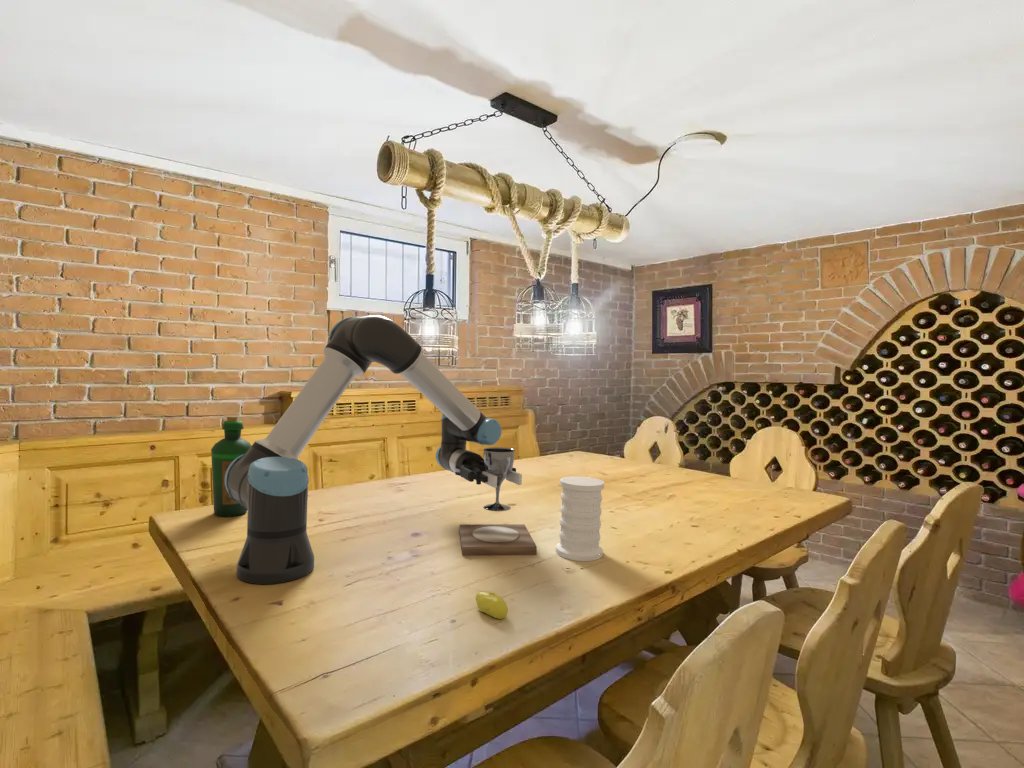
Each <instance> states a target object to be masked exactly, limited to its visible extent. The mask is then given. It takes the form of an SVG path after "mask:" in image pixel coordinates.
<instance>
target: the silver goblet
mask: <svg viewBox="0 0 1024 768" xmlns="http://www.w3.org/2000/svg"><path fill="white" fill-rule="evenodd" d="M483 460H484V466H485V470H486V472H488V473H490V474H493V475H495V476H497V487H495V488H494V489H495V502H494V503H488V504H485V505H483V506H482V507H483V509H484V510H486V511H489V512H507V511H509V510H511V508H512V507H511V506H510V505H508V504H503V503H500V491H501V486H502V484H503V482H504V481H505V480H506V477H507V476H508V475H509V474H510V472H511V470H512V467H513V468H514V463H515V449H514V448H508V447H503V446H499V447H498V446H493V447H492V446H491V447H490V446H489V447H485V448H483Z"/></svg>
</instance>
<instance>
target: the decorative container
mask: <svg viewBox="0 0 1024 768" xmlns="http://www.w3.org/2000/svg"><path fill="white" fill-rule="evenodd" d="M559 486H560V487H561V488H562V491H561V494H560V499H561V505H560V508H559V509H560V513H561V517H560V519H559V525H560V530H559V532H558V533H559V535H558V536H559V539H560V542H558V543H557V544H555V553H556V554H557V555H558V556H559V557H560V558H563V559H566V560H570V561H576V562H592V561H597V560H599V559H601V558H602V557H603V552H604V551H603V548H602V546H600V545H599V544H600V541H601V534H600V529H601V526H602V523H601V516H602V507H601V503H602V501H603V497H602V490H604V489H605V481H603V480H601V479H599V478H597V477H596V478H595V477H588V476H573V475H572V476H565V477H561V478H560V479H559ZM599 554H600V555H599Z"/></svg>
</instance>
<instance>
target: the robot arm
mask: <svg viewBox="0 0 1024 768" xmlns="http://www.w3.org/2000/svg"><path fill="white" fill-rule="evenodd" d="M322 351H323V354H324V355H323V356H324V359H323V360H322V361H321V363H320V364H319V366H318V367H317V368H316V369H315V371H314V372H313V374H312V375H311V376H310V377H309V379H308V381H307V382H305V385H304V386H302V388H301V390H300V391H299V392H298V394H297V395H296V396H295V398H294V399H293V401H292V402H291V403H290V405H289V406H288V408H287V409H286V410H285V411H284V413H283V414H282V415H281V417H280V418H279V420H278V421H277V423H276V424H275V425H274V426H273V428H272V429H271V430H270V431H269V433H268V434H267V436H266V437H265V438H262V439H258V440H254V442H253V444H252V445H251V447H250V449H249V450H248V451H247V453H246V454H244V455H241V456H239V457H238V458H236V459H235V460H234V461H233V462H232V463H231V464H230V465H229V467H228V469H227V471H226V474H225V487H226V490H227V492H228V493H229V495H230V497H231V498H232V499H233V500H234V501H235V502H236V503H238V504H240V505H242V506H244V507H245V508H246V509H248V510H247V517H246V518H247V523H246V526H247V528H246V539H245V541H244V544H243V548H242V550H241V553H240V556H239V557H238V560H237V564H236V577H237V579H239V580H240V581H243V582H246V583H248V584H249V583H250V584H255V585H256V584H258V585H269V584H280V583H286V582H290V581H294V580H297V579H300V578H303V577H304V576H306V575H309V574H310V573H311V572H312V571H314V568H315V555H314V552H313V549H312V548H313V547H312V545H311V542H310V539H309V536H308V532H307V529H308V528H307V524H308V523H307V522H308V521H307V520H308V499H309V498H308V497H309V496H308V494H309V482H310V479H309V475H308V474H309V472H308V467H307V464H305V463H304V462H303V461H301V460H299V457H300V455H301V453H302V452H303V451H304V450H305V448H306V446H307V445H308V444H309V442H310V441H311V439H312V438H313V437H314V436H315V434H316V432H317V430H318V429H319V428H320V427H321V425H322V424H323V422H324V421H325V419H326V418H327V417H328V415H329V414H330V412H331V411H332V409H334V406H336V404H337V403H338V400H339V399H340V398H341V396H342V395H343V394H344V393H345V391H346V390H347V388H348V387H349V385H350V384H351V382H352V381H353V380H354V378H357V377H362V376H363V375H365V373H366V372H367V370H368V368H369V367H370V366H371V364H372V363H377V364H380V365H382V366H384V367H386V368H387V369H389V370H390V371H391V373H393V374H394V375H401V376H403V378H405V380H407V382H409V384H411V385H412V386H413V387H414V388H415V389H416V390H417V391H418V392H419V393H421V395H423V396H424V397H425V398H426V399H427V400H428V401H429V402H430V403H431V404H432V405H434V407H435V408H437V410H439V412H441V413H442V414H441V415H442V416H441V442H440V446H439V447H438V448H437V450H436V453H435V459H436V462H437V464H438V465H439V466H441V468H442V469H444V470H445V471H449V472H452V473H453V474H454V475H456V476H460V477H461V478H462V479H465V480H466V481H468V482H471V483H472V482H475V481H476V483H475V484H476V485H481V484H482V483H483V484H485V485H488V486H490V487H492V488H494V489H496V488H495V487H497V476H495V475H493V474H490V473H488V472H486V470H485V466H484V457H483V456H481V455H480V454H479V453H477V452H474V451H472V450H468V449H467V442H469V443H475V444H478V445H481V446H493V445H495V444H497V442H498V441H499V440H500V438H501V436H502V425H501V424H500V422H499V421H498V420H497V419H494V418H492V417H487V416H485V414H484V413H483V412H482V411H481V410H479V409H478V407H476V405H475V404H474V403H472V402H471V400H470V399H468V397H466V395H464V393H462V391H461V390H459V388H458V387H456V385H454V383H453V382H451V380H450V379H448V377H447V376H446V375H444V373H443V372H442V371H441V370H440V369H439V368H438V367H437V366H436V365H435V364H434V363H433V362H432V361H431V360H430V359H429V358H428V357H426V355H425V354H424V353H423V347H422V346H421V344H419V342H418V341H416V340H415V338H414V337H412V336H411V335H410V334H409V333H408V332H407V331H406V330H405V329H404V328H402V326H400V324H398V323H396V322H395V321H393V319H390V318H388V317H386V316H383V315H378V314H376V315H375V314H373V315H363V316H349V317H345V318H343V319H341V320H339V321H337V322H336V324H334V325H333V327H332V328H331V330H330V332H329V334H328V342H327V345H326V346H325V347H324V348H323V350H322ZM474 480H475V481H474ZM505 480H506V481H508V482H511V483H513V484H515V485H518V486H522V484H523V482H522V481H523V474H522V473H519V472H517V468H516V467H514V466H513V467H512V470H511V472H510V474H509V475H508V476H507V477H506V478H505Z"/></svg>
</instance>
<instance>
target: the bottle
mask: <svg viewBox="0 0 1024 768" xmlns="http://www.w3.org/2000/svg"><path fill="white" fill-rule="evenodd" d="M221 430H223V431H224V438H222V439H220V440H218V441H217V442H215V443H214V444H213V446H212V447H211V449H210V451H211V452H210V453H211V472H212V473H211V474H212V475H211V476H212V478H211V479H212V497H213V514H215V515H216V516H219V517H236V516H240V515H243V514H245V513H246V512H248V509H246V508H245V507H244V506H242V505H240V504H238V503H236V502H235V501H234V500H233V499H232V498H231V497H230V495H229V493H228V492H227V490H226V487H225V474H226V471H227V469H228V467H229V465H230V464H231V463H232V462H233V461H234V460H235V459H236V458H238V457H239V456H241V455H244V454H246V453H247V451H248V450H249V449H250V447H251V446H252V445H251V443H250V442H249V441H248V440H246V439H244V438H243V437H241V436H242V430H244V424H243V420H240V416H239V415H227V416H226V420H224V421H223V423H222V427H221Z"/></svg>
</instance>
